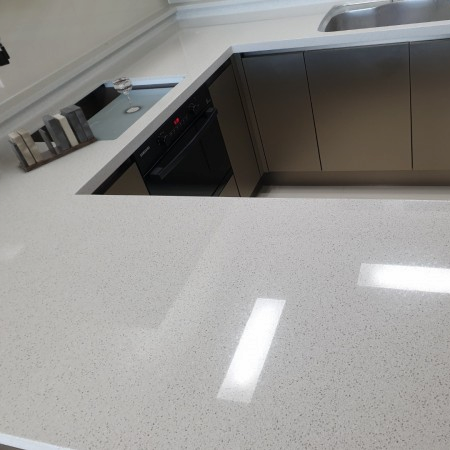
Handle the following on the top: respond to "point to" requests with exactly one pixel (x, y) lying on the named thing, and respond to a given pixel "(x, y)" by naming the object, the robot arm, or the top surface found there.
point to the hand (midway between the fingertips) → (5, 62)
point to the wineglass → (124, 89)
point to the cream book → (66, 129)
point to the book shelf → (30, 152)
